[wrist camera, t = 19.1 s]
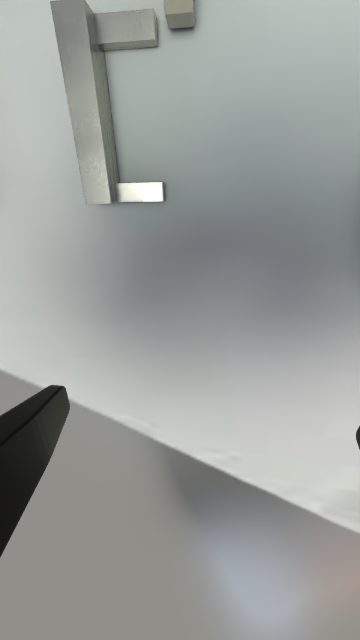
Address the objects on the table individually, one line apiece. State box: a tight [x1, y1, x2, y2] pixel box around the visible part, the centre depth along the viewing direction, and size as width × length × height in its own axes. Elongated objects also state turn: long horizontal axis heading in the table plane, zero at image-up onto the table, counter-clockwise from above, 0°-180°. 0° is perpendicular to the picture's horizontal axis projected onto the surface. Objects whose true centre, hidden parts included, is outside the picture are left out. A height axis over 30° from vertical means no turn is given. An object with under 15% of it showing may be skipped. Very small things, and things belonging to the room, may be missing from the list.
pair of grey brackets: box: [50, 0, 165, 204], centre depth 14 cm, size 16×8×2 cm, turn 91°
